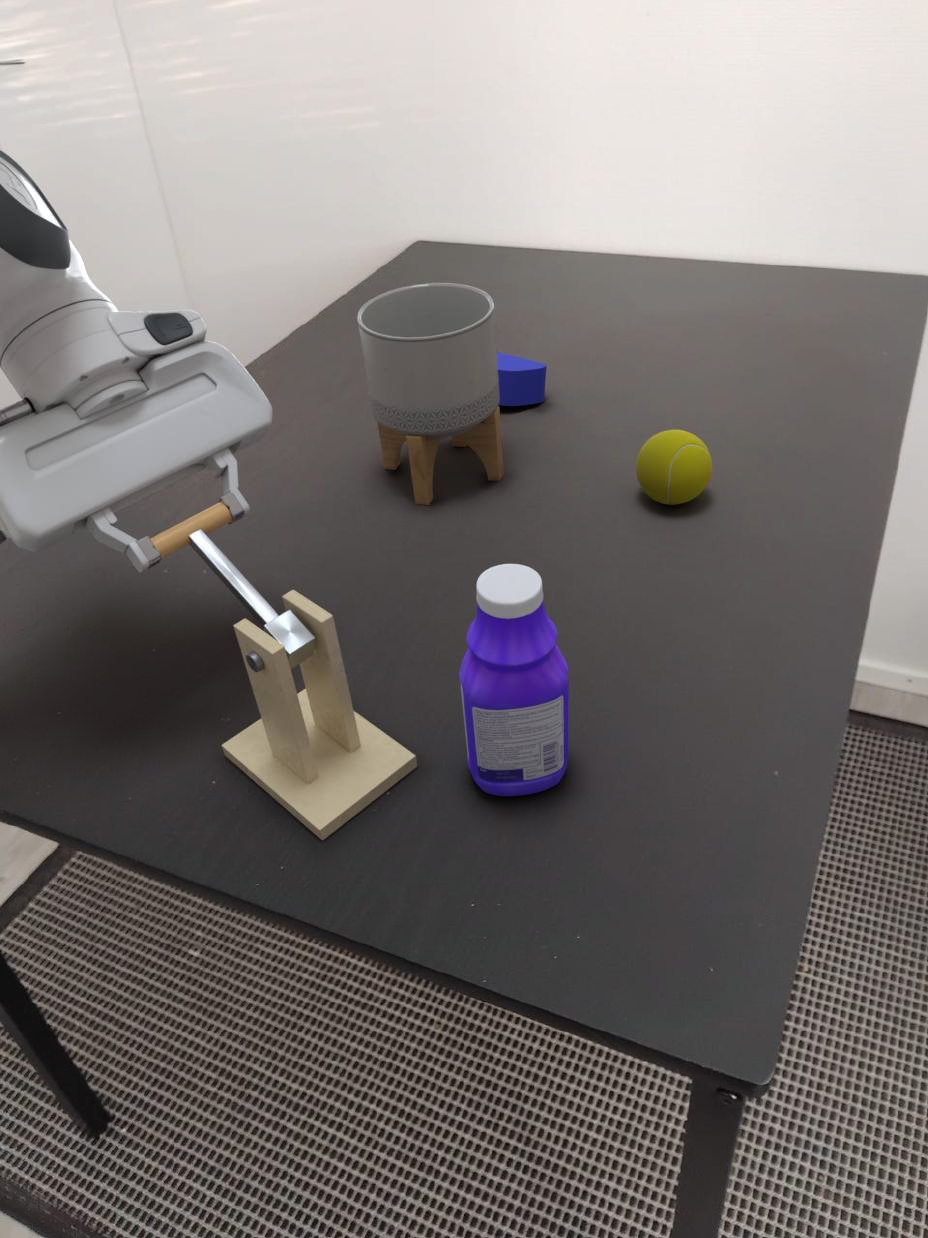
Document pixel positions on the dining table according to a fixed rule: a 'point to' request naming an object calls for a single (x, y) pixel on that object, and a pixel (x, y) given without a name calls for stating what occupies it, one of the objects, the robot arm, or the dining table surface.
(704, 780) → the dining table surface
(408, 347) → the planter
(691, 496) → the tennis ball
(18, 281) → the robot arm
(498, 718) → the bottle
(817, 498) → the dining table surface
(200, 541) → the lever
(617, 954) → the dining table surface
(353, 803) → the bracket
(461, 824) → the dining table surface
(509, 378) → the toy
